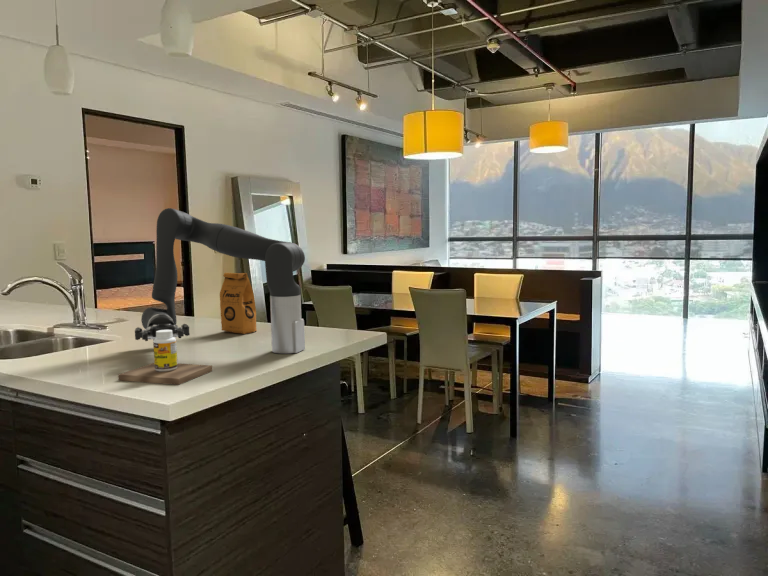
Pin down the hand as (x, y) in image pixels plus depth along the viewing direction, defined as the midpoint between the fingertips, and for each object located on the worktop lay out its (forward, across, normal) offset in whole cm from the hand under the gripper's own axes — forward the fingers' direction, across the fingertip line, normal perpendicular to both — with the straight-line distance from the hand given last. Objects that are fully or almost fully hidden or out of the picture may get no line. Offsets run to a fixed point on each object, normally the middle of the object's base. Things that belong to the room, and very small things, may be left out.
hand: (163, 335), depth 158 cm
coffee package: (-49, +28, +9) cm, 57 cm away
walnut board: (+9, 0, +9) cm, 13 cm away
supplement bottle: (+9, 0, +8) cm, 12 cm away
